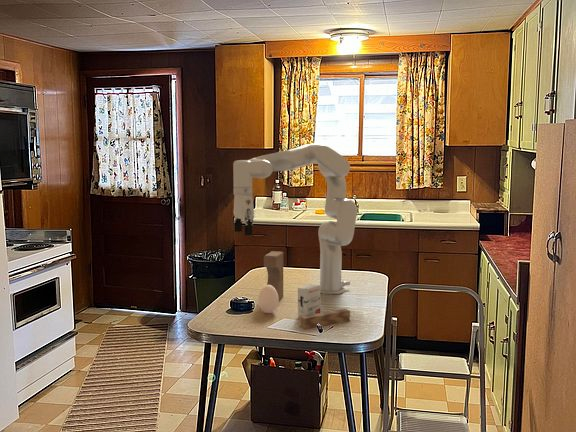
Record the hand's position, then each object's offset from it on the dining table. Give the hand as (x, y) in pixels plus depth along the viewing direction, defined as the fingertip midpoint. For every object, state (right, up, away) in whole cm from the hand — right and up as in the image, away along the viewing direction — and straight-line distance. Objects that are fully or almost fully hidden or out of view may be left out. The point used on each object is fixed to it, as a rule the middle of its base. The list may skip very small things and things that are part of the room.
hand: (243, 233), depth 245 cm
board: (+32, -33, -20) cm, 50 cm away
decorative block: (+12, -29, +12) cm, 34 cm away
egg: (+10, -32, -7) cm, 34 cm away
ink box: (+26, -32, -10) cm, 43 cm away
